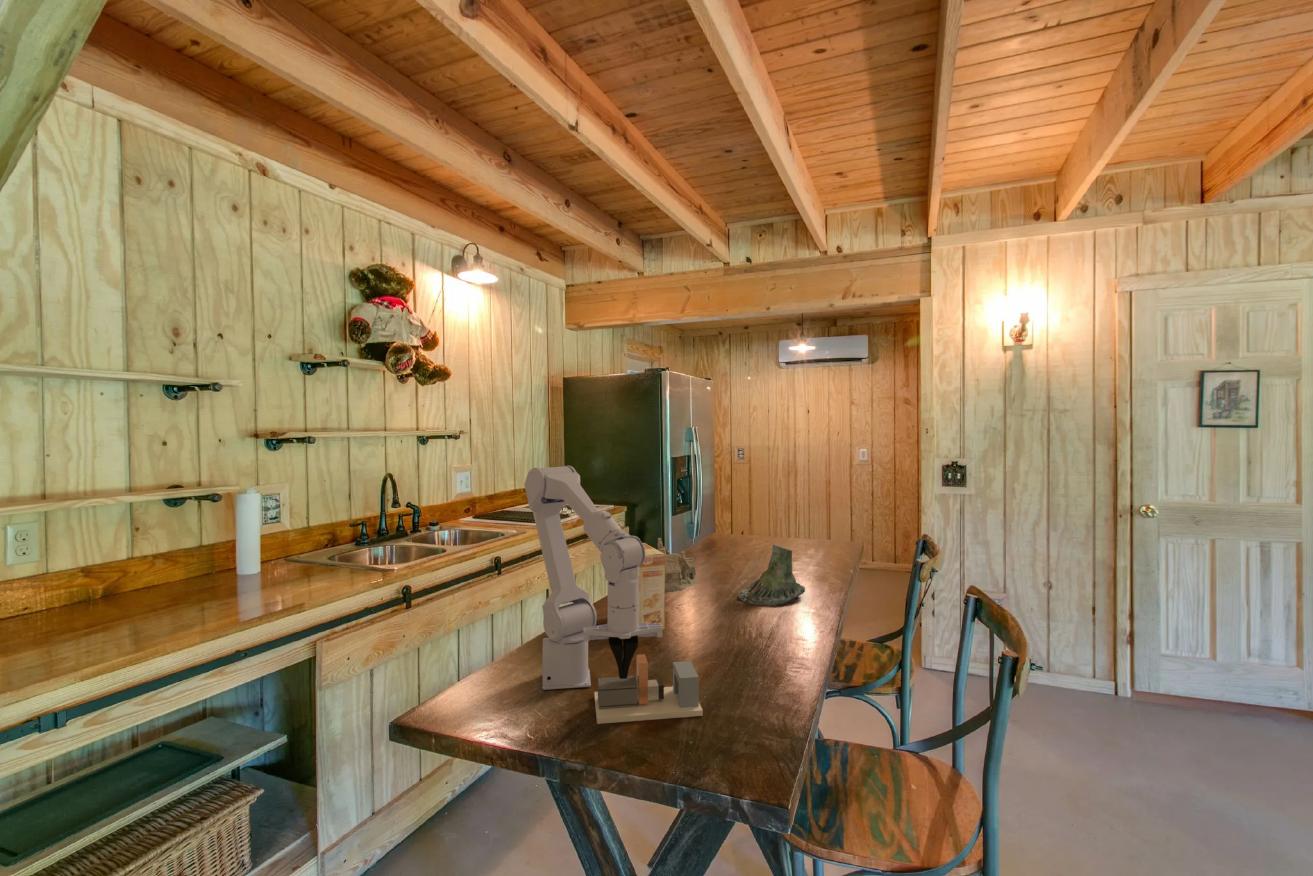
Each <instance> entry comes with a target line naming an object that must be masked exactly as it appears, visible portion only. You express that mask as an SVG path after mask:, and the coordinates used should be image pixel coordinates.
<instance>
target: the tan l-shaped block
mask: <svg viewBox="0 0 1313 876" xmlns="http://www.w3.org/2000/svg"><path fill="white" fill-rule="evenodd" d="M648 670H649V662H648V659H647V656H646V654H645V653H642V654H636V681H637V685H638V687H636V688H638V695H637V701H638V702H639V705H640V704H648V700H661V699H664V687H665V685H664V682H663V679H662V678H660V679H649V671H648ZM607 690H608V689H607Z"/></svg>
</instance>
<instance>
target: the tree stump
mask: <svg viewBox="0 0 1313 876" xmlns="http://www.w3.org/2000/svg"><path fill="white" fill-rule="evenodd" d="M771 550H772V551H771V556H770V558H769V563H768V565H767V569H766V570H765V571H763V573H761V576H759V578H758V579H756V580H755V581H751V583H750V585H748V586H746V587H745V588H744V589H742V590H740V591H739V592H738V594H737V598H738V600H740V601H741V602H743V603H745V604H749V605H753V606H758V607H759V606H761V607H781V606H784V605H788V604H790V603H793V601H795V600H796V599H798V598H799V596H801V595H803V594H804V593H805V592H806V587H805V586H804V585H801V584H800V583H798V582H797V580H796V577H795V575H794V574H793V550H792V549H790V548H787V547H783V546H781V545H776V544H772V549H771Z"/></svg>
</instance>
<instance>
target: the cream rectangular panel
mask: <svg viewBox="0 0 1313 876" xmlns="http://www.w3.org/2000/svg"><path fill="white" fill-rule="evenodd" d="M636 687H638V685H637V677H636V675H627V679H620V678H619V676H610V677H597V691H593V692H594V697H593V698H594V703H595V704H594V706H595V716H596V724H597V725H603V724H612V723H627V722H639V721H640V722H641V721H653V720H665V719H675V718H677V719H678V718H690V717H691V718H693V717H702V716H704V715H703V714H704V713H703V707H702V705H701V704H700V702H699V706H698V707H684V708H680V707H679V704H678V694H674V691H673V686H664V699H661V700H648V704H640V705H639V702H638V701H637V695H638V688H636ZM607 689H608V690H607Z"/></svg>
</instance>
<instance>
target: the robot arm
mask: <svg viewBox="0 0 1313 876" xmlns="http://www.w3.org/2000/svg"><path fill="white" fill-rule="evenodd" d="M523 486H524V490H525V496H526V498H527V502H528V508H529V510H530V511H531V512H532V514H533V518H534V522H535V527H536V531H537V535H538V540H539V545H540V549H541V553H542V557H543V561H544V565H545V566H544V567H545V571H546V574H547V579H548V583H549V587H550V592H551V593H550V594H549V596H548V597H547V599H546V600H545V601H544V603H543V604H542V611H543V620H542V622H543V623H542V624H543V629H544V632H545V635H546V636H547V637H544V638H543V639H542V656H541V657H542V665H541V667H540V668H541V669H540V670H541V671H540V676H542V687H541V688H542V690H544V691H545V690H547V691H548V690H559V689H562V690H563V689H575V688H589V687H592V683H591V671H590V668H589V642H590V641H594V640H608V644H609V648H610V650H611V652H612V654H613V657H614V659H615V662H616V664H617V670H618V677H619V678H620V679H627V676H629V669H630V666H631V662H632V660H633V657H634V655H635V653H636V651H637V649H638V646H639V638H644V637H645V638H647V637H648V638H649V637H656V638H663V633H664V632H663V631H664V629H663V627H662V625H661V624H651V623H638V603H639V566H641V565H642V564H643V562H644V560H645V548H644V546H643V544H642V543H643V542H642V541H641V539H640V538H639V537H638V536H636V535H630V533H626V532H625V531H624V530H623V529H622V527H620V525H619V524H618V523H617V522H616V520H615V519H614V518H613V517H612V516H613V515H612V514H611V513H610V512H609V511H606V510H598V508H597V507H596V505H595V504H594V502H593V501H592V500H591V498H590V497H589V495H588V494H587V493H586V491H585V489H584V488H583V487H582V485H581V475H580V473H578V472H577V471H576V468H574V467H573V466H571V465H564V466H551V467H532V468H530V470H529V471H528V472H527V475H526V479H525V481H524V484H523ZM565 506H568V507H570V509H571V510H572V511H573V512H574V513H575V514H576V515H577V516H578V517H579V519H581V521H583V522H584V523H583V531H584V533H585V534H586V535H587V536H588V538H589V539H590V541H591V542H592V543H593V545H595V547H596V548H597V550H599V552H600V556H599V557H600V562H601V565H602V567H603V570H604V578H605V580H606V581H607V623H605V624H600V625H597V620H598V617H597V616H598V615H597V610H596V608H595V606H594V604H593V603H592V601H591V598H590V595H589V592H588V591H585V589H582V588H581V587H579V586H578V585H577V581H576V577H575V573H574V569H573V568H574V567H573V566H572V560H571V556H570V553H569V549H568V544H567V541H566V540H567V539H566V537H565V536H566V535H565V532H564V528H563V525H562V521H561V516H560V513H561V511H562V509H563V508H565ZM568 603H569V604H568ZM563 604H566V605H563ZM562 605H563V606H562Z"/></svg>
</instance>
